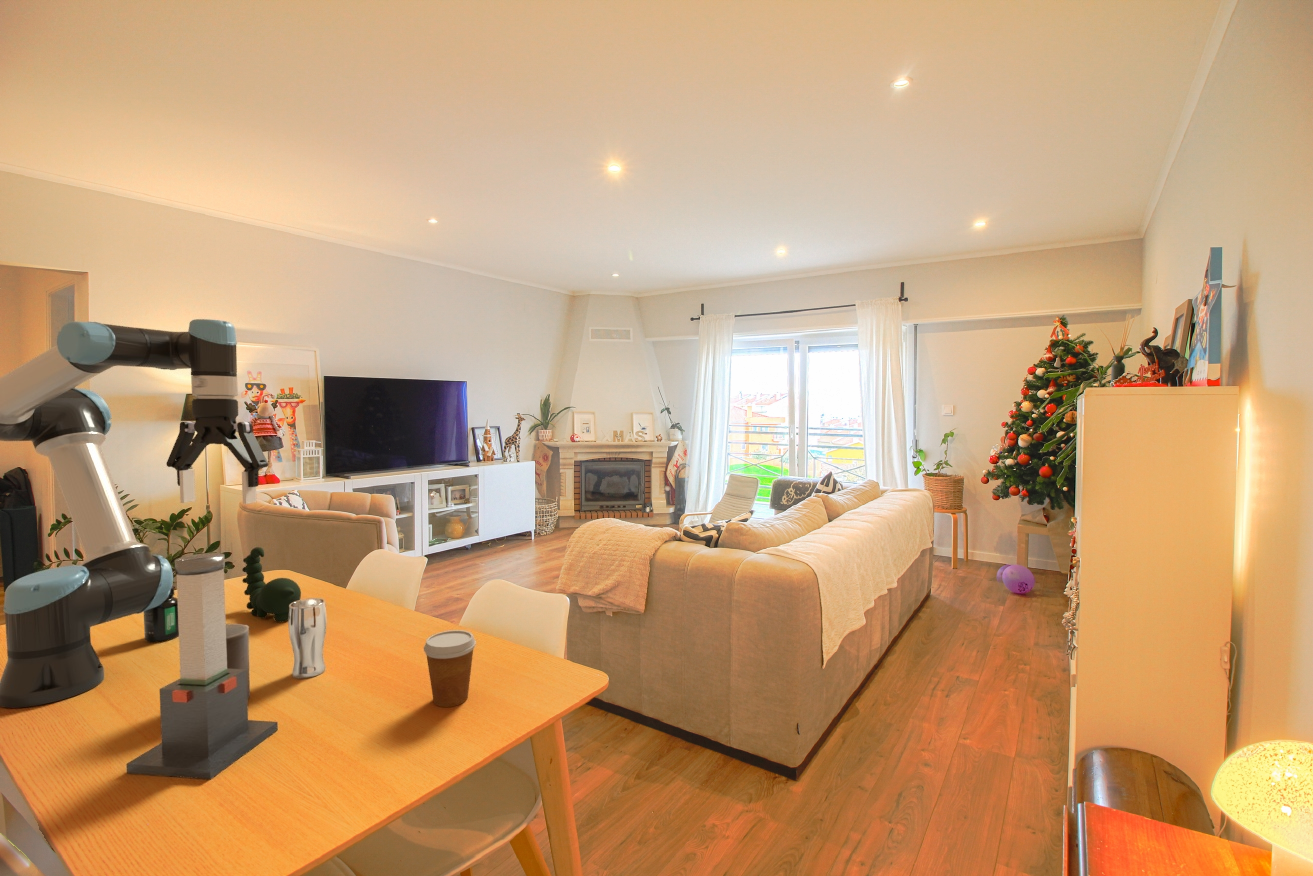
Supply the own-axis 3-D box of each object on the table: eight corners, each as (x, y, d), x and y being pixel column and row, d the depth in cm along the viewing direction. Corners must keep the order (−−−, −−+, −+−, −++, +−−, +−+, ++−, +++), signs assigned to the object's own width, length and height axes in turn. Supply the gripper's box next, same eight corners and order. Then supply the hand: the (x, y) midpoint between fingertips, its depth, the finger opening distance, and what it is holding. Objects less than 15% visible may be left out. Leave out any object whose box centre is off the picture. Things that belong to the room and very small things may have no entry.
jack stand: (126, 773, 93) (123, 697, 92) (203, 725, 107) (201, 659, 106) (210, 779, 91) (207, 702, 91) (277, 730, 105) (275, 662, 105)
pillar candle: (201, 721, 108) (199, 638, 108) (177, 706, 113) (176, 627, 113) (260, 699, 117) (259, 622, 116) (235, 686, 122) (234, 613, 121)
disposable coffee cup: (427, 716, 110) (426, 651, 110) (421, 694, 119) (420, 634, 118) (481, 704, 115) (480, 642, 114) (471, 684, 123) (470, 626, 122)
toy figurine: (234, 618, 165) (275, 630, 151) (229, 549, 165) (270, 554, 151) (272, 609, 173) (314, 619, 158) (267, 543, 173) (309, 547, 158)
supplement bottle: (179, 639, 146) (177, 590, 145) (142, 645, 142) (140, 595, 142) (182, 630, 152) (180, 583, 151) (146, 636, 148) (144, 587, 147)
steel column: (169, 711, 96) (163, 562, 95) (203, 692, 102) (198, 552, 101) (206, 714, 95) (201, 563, 94) (238, 694, 101) (234, 553, 100)
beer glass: (310, 681, 124) (308, 609, 123) (281, 678, 125) (279, 607, 125) (335, 667, 131) (333, 598, 130) (307, 664, 132) (305, 596, 131)
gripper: (141, 397, 119) (145, 504, 120) (258, 397, 117) (261, 506, 118) (175, 397, 127) (179, 498, 128) (286, 398, 124) (289, 500, 125)
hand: (218, 502), depth 123 cm, fingers open, 13 cm apart
